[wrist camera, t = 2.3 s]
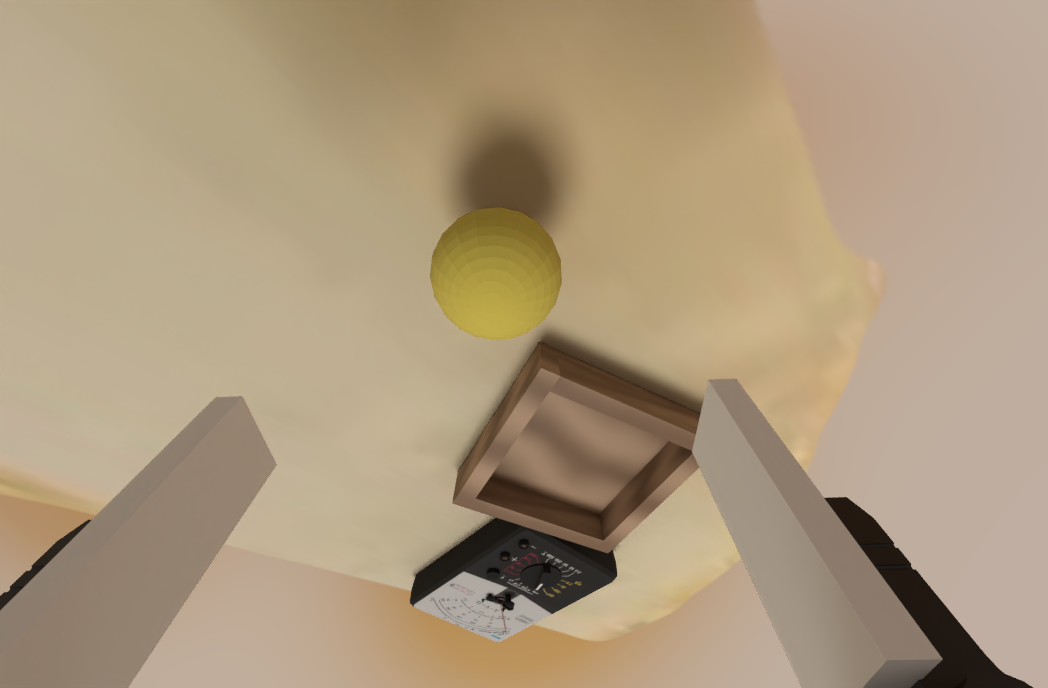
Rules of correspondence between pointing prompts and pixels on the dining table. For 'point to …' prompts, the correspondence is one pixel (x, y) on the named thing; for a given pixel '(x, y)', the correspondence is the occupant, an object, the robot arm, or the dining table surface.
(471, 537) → the multimeter
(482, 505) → the tray
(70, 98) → the dining table surface
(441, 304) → the light bulb
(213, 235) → the dining table surface
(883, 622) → the robot arm
